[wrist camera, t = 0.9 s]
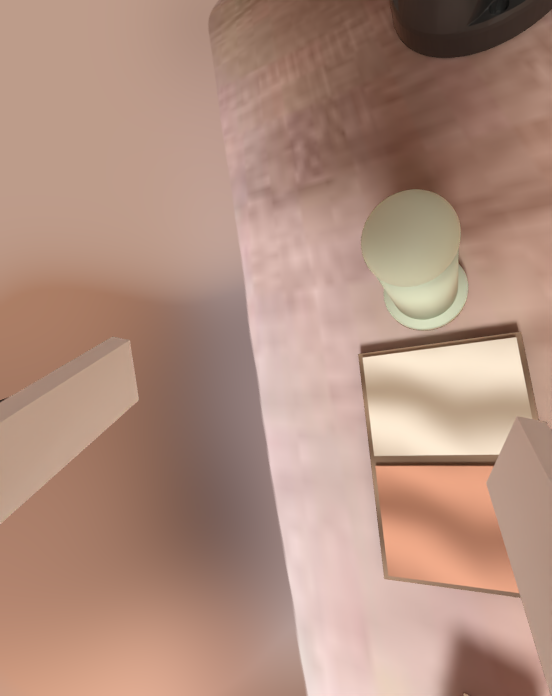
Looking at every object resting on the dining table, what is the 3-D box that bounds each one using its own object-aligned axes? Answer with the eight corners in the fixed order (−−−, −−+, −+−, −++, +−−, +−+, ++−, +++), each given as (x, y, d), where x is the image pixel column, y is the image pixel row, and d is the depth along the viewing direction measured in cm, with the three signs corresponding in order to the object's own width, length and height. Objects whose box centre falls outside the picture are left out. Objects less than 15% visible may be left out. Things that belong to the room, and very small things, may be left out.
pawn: (417, 244, 31) (390, 139, 18) (485, 281, 28) (509, 188, 16) (371, 304, 32) (316, 244, 19) (432, 345, 29) (415, 306, 17)
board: (360, 355, 32) (357, 353, 31) (518, 333, 27) (521, 330, 25) (386, 573, 29) (383, 580, 28) (571, 597, 23) (577, 607, 22)
